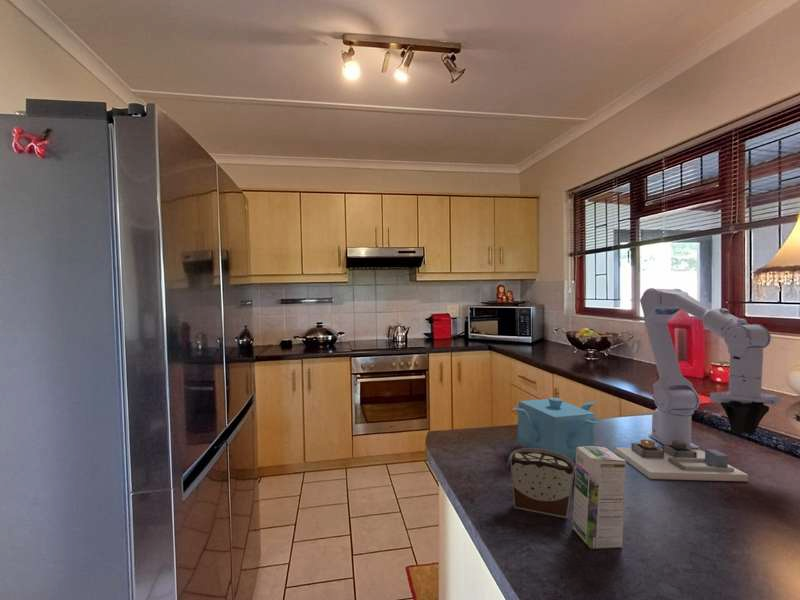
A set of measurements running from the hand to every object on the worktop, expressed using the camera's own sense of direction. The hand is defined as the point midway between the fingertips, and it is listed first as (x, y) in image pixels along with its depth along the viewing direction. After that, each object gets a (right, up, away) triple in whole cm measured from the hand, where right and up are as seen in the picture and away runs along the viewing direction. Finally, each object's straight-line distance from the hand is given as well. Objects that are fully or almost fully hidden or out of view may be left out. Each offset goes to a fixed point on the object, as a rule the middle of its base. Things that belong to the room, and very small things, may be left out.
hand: (742, 433), depth 91 cm
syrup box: (-47, -9, -26) cm, 55 cm away
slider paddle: (-6, -7, 0) cm, 10 cm away
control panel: (-13, -9, +3) cm, 16 cm away
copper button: (-18, -6, +7) cm, 20 cm away
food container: (-53, -9, -16) cm, 56 cm away
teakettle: (-41, -9, +6) cm, 43 cm away
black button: (-10, -6, +7) cm, 14 cm away
